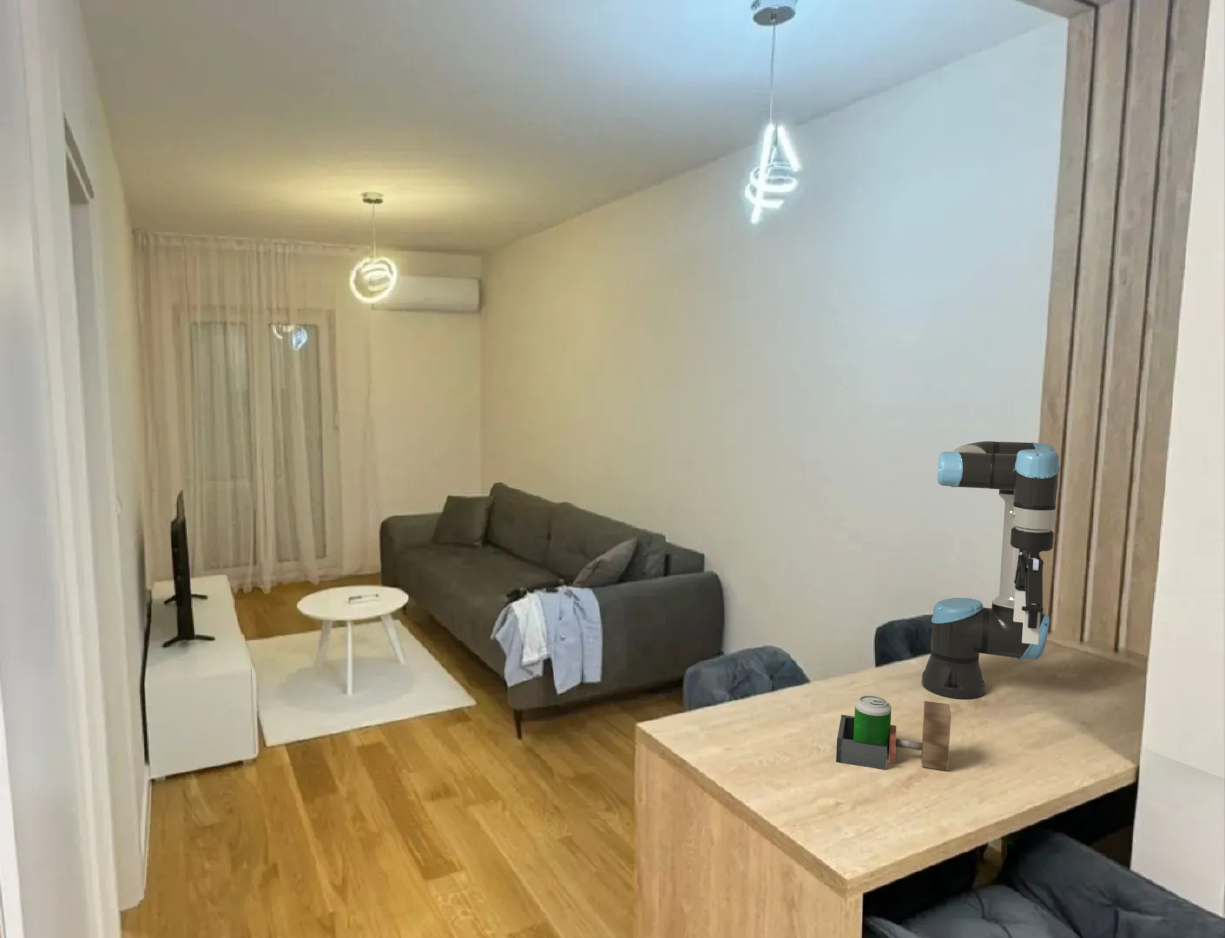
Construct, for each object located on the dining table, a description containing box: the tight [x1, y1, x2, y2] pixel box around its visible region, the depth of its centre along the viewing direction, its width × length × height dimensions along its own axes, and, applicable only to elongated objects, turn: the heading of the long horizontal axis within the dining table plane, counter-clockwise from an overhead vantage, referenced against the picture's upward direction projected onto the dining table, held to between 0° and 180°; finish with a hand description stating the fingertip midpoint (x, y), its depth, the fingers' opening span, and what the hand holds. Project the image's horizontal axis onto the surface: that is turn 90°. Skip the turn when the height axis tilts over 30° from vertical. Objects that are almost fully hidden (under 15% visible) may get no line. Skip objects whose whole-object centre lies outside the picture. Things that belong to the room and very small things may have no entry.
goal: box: [835, 714, 888, 771], centre depth 177 cm, size 10×13×5 cm
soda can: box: [853, 695, 892, 755], centre depth 176 cm, size 8×8×12 cm
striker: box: [888, 700, 952, 772], centre depth 172 cm, size 12×7×12 cm, turn 70°
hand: (1025, 632), depth 163 cm, fingers open, 13 cm apart
